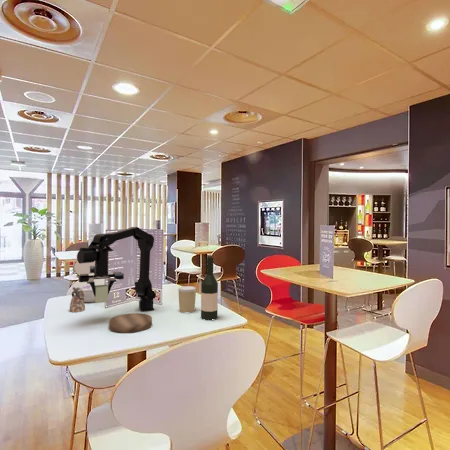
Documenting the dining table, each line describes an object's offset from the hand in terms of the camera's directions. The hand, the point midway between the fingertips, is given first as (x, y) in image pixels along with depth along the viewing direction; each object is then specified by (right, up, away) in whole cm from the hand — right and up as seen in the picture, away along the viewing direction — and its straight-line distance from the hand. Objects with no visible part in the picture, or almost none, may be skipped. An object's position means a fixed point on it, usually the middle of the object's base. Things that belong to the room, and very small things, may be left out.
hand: (101, 295), depth 138 cm
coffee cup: (+37, -13, +20) cm, 44 cm away
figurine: (-20, -12, +18) cm, 29 cm away
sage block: (0, -3, 0) cm, 2 cm away
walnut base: (+15, -12, -5) cm, 20 cm away
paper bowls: (-22, -12, +38) cm, 46 cm away
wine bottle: (+49, -13, +8) cm, 51 cm away
